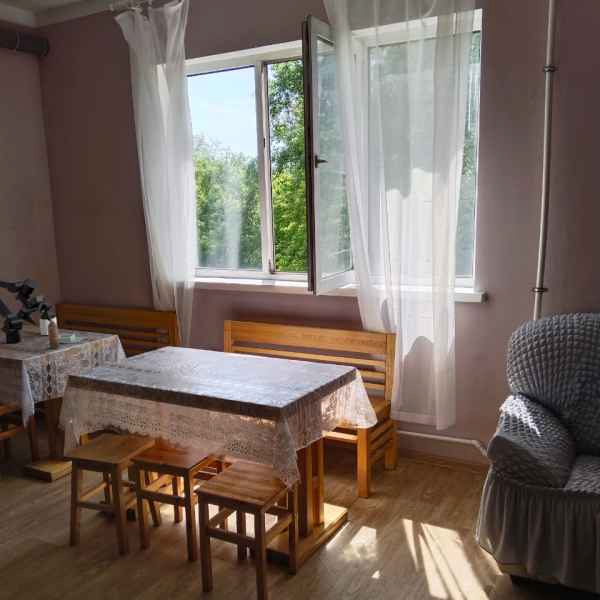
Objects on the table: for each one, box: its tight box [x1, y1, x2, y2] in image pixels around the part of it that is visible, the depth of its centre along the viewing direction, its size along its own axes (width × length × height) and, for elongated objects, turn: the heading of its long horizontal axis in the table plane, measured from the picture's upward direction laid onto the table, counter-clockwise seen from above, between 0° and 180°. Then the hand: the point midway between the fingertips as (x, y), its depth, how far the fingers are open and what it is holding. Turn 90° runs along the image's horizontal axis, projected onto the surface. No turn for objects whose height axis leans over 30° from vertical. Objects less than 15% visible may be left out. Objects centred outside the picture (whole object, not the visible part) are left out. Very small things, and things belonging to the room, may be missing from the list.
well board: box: [44, 333, 86, 345], centre depth 338 cm, size 18×12×3 cm, turn 94°
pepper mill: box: [48, 321, 60, 350], centre depth 322 cm, size 5×5×14 cm
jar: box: [39, 311, 58, 336], centre depth 354 cm, size 9×8×12 cm
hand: (43, 322), depth 324 cm, fingers open, 9 cm apart
